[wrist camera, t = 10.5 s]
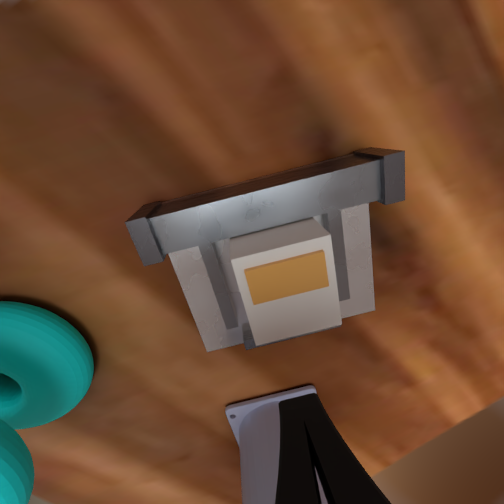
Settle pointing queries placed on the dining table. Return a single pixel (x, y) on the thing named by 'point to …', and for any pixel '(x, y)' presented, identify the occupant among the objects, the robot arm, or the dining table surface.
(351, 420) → the dining table surface
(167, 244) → the rail
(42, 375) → the donuts
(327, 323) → the block
